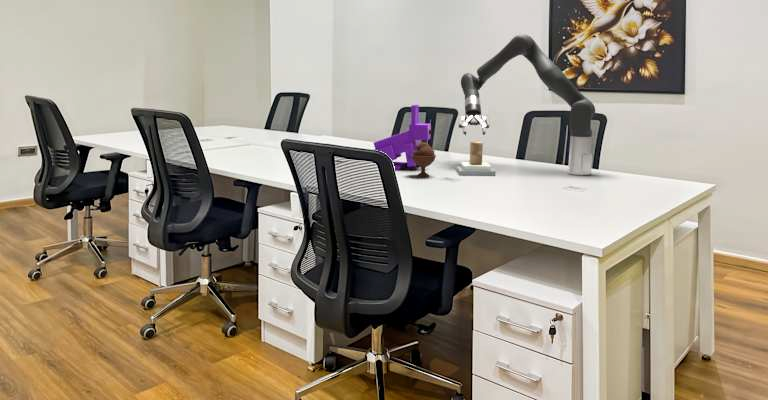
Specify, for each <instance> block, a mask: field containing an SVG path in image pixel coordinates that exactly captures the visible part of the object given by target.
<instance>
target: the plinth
mask: <svg viewBox="0 0 768 400" xmlns="http://www.w3.org/2000/svg"><path fill="white" fill-rule="evenodd" d="M456 171H457V173H458V175H459V176H468V177H469V176H471V177H472V176H473V177H474V176H477V177H479V176H480V177H482V176H483V177H485V176H487V177H492V176H494V177H496V170H495V169H494V168H493V167H492V166H491V165H490V164H489V163H488V162H487V161H486V162H483V161H482V165H471V164H470V161H466V162H464V161H462V162H461V165H456Z"/></svg>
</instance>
